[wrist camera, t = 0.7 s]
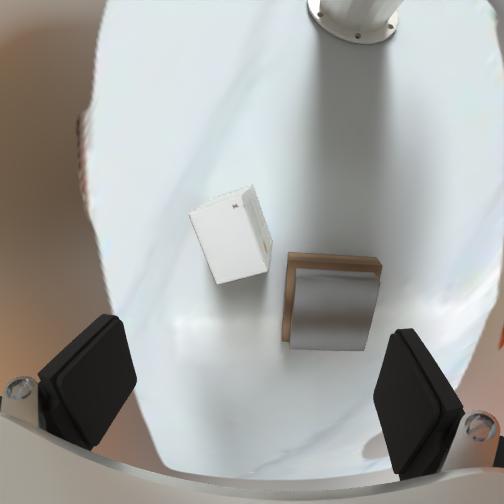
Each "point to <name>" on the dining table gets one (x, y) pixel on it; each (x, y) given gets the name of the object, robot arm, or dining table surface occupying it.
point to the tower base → (329, 301)
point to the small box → (233, 235)
